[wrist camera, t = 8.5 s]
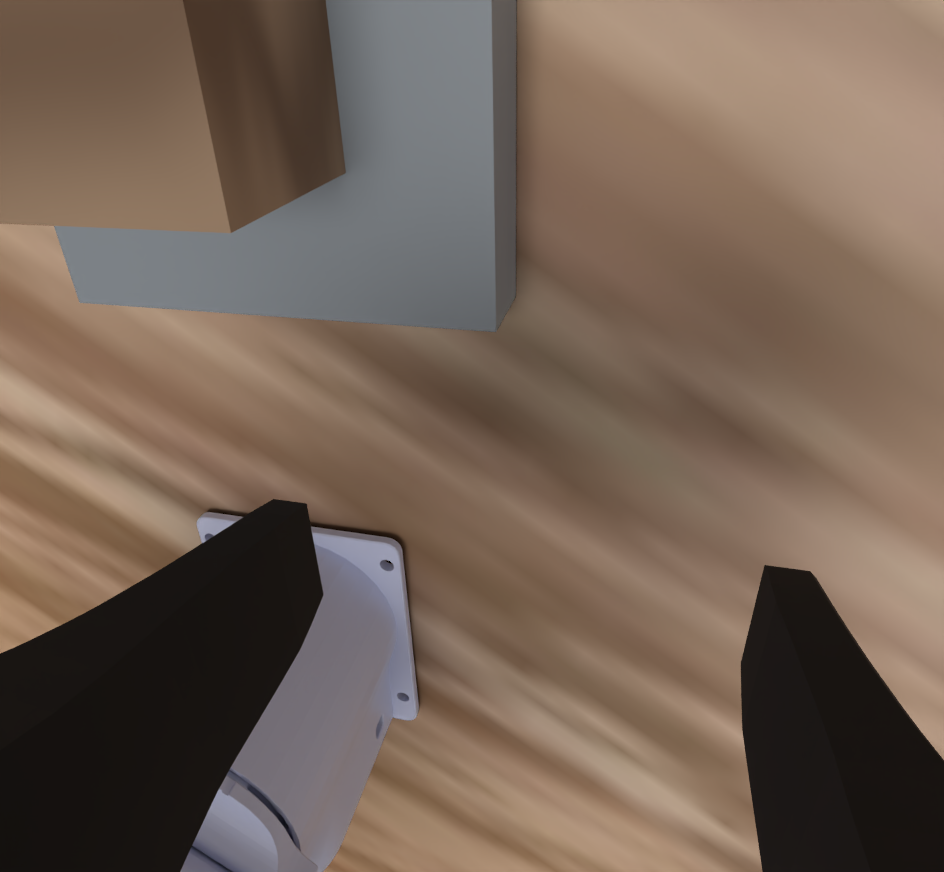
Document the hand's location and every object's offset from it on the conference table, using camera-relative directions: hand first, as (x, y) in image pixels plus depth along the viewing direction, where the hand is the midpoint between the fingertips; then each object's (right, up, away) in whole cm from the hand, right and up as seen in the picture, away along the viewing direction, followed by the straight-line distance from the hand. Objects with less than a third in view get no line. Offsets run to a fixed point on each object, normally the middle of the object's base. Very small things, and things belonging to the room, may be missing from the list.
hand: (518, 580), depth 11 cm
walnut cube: (-6, +11, +4) cm, 13 cm away
